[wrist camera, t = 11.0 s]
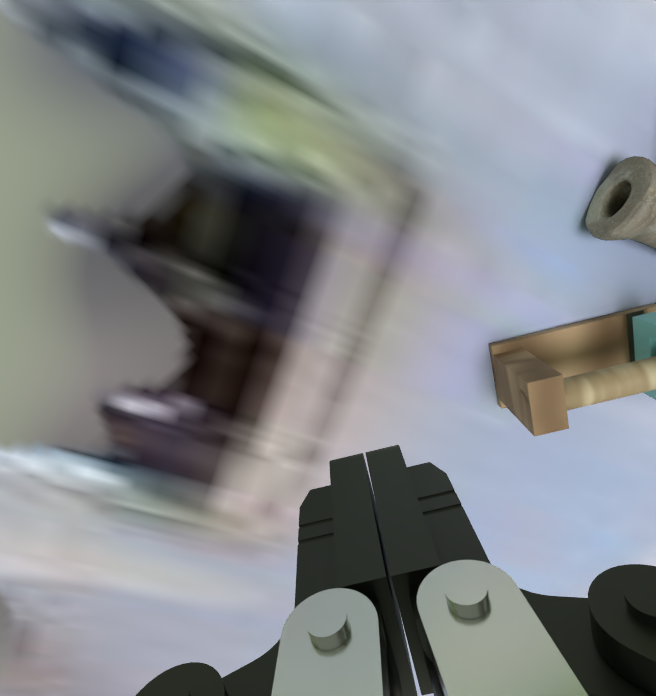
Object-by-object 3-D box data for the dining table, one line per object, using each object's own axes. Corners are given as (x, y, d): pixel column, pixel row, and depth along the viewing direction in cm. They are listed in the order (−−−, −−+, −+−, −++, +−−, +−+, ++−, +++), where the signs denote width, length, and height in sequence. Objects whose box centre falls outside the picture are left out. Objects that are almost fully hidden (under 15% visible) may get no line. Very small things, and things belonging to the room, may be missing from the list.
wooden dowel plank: (498, 405, 44) (537, 447, 36) (488, 343, 42) (527, 374, 34) (692, 359, 43) (774, 392, 35) (690, 294, 41) (775, 314, 33)
